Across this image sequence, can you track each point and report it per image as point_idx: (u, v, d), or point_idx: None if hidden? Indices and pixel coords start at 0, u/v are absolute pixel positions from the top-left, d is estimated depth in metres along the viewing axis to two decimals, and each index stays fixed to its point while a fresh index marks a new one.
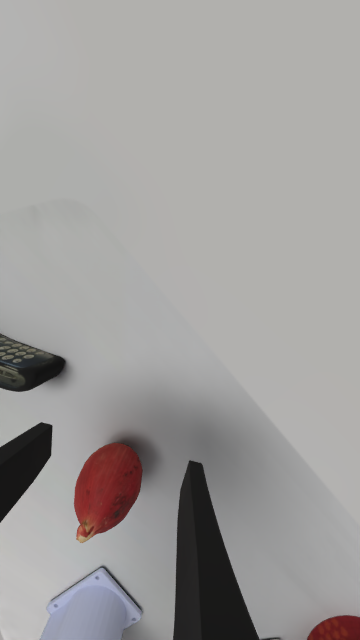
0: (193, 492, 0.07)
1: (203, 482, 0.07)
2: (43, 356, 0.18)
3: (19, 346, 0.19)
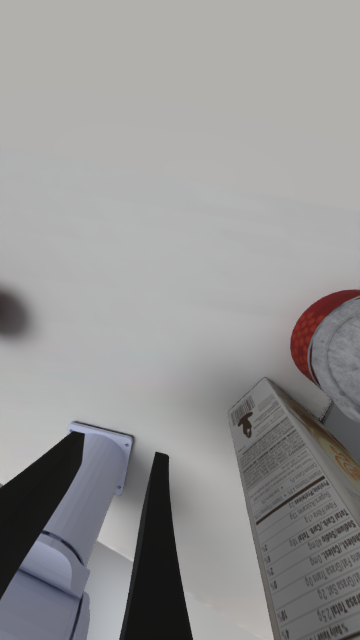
0: (152, 481, 0.07)
1: (164, 472, 0.07)
2: None
3: None
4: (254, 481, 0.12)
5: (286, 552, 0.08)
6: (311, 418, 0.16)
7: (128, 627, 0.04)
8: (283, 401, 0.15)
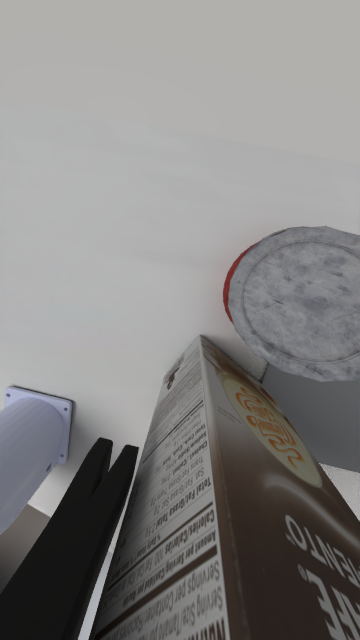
0: (84, 464, 0.07)
1: (101, 455, 0.08)
2: None
3: None
4: (156, 426, 0.11)
5: (149, 481, 0.07)
6: (241, 372, 0.15)
7: (5, 592, 0.04)
8: (204, 349, 0.14)
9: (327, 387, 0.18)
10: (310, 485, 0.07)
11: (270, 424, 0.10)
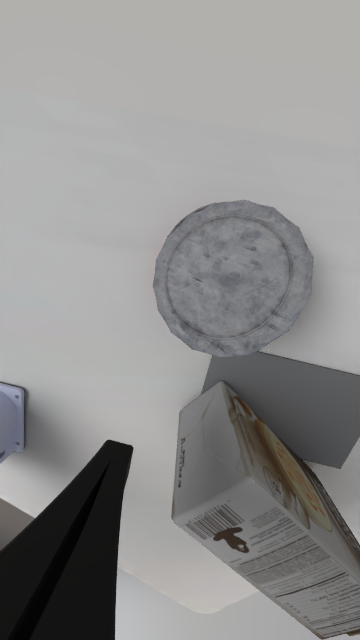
0: (108, 470, 0.07)
1: (124, 461, 0.08)
2: None
3: None
4: (266, 580, 0.11)
5: (308, 603, 0.12)
6: (251, 429, 0.14)
7: (49, 605, 0.04)
8: (292, 510, 0.10)
9: (274, 373, 0.17)
10: (309, 481, 0.16)
11: (297, 473, 0.15)
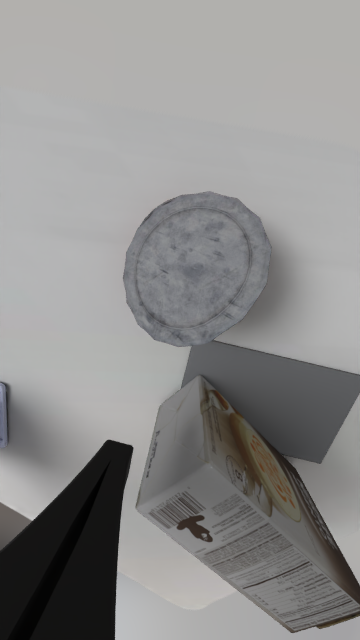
0: (109, 470, 0.07)
1: (124, 461, 0.08)
2: None
3: None
4: (232, 571, 0.11)
5: (275, 595, 0.11)
6: (223, 420, 0.14)
7: (49, 605, 0.04)
8: (253, 497, 0.10)
9: (252, 368, 0.17)
10: (284, 474, 0.16)
11: (271, 466, 0.15)
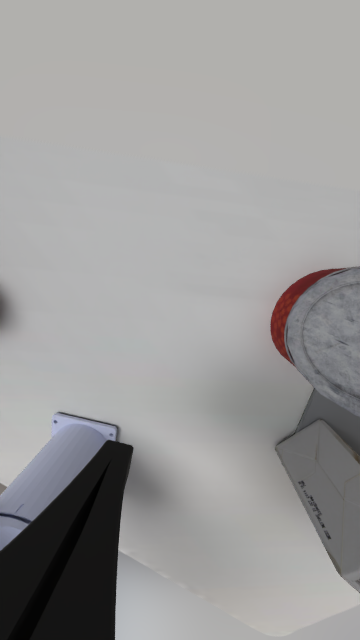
0: (108, 470, 0.07)
1: (124, 461, 0.08)
2: None
3: None
4: None
5: None
6: None
7: (49, 605, 0.04)
8: None
9: None
10: None
11: None
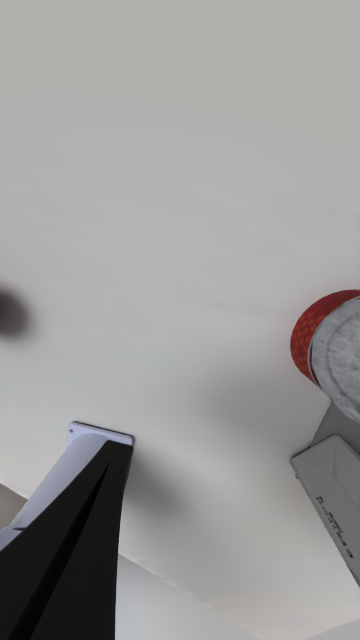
0: (108, 470, 0.07)
1: (124, 461, 0.08)
2: None
3: None
4: None
5: None
6: None
7: (49, 605, 0.04)
8: None
9: None
10: None
11: None
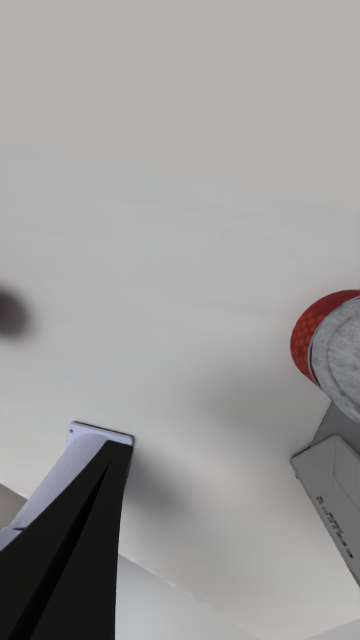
0: (108, 470, 0.07)
1: (124, 461, 0.08)
2: None
3: None
4: None
5: None
6: None
7: (49, 605, 0.04)
8: None
9: None
10: None
11: None
